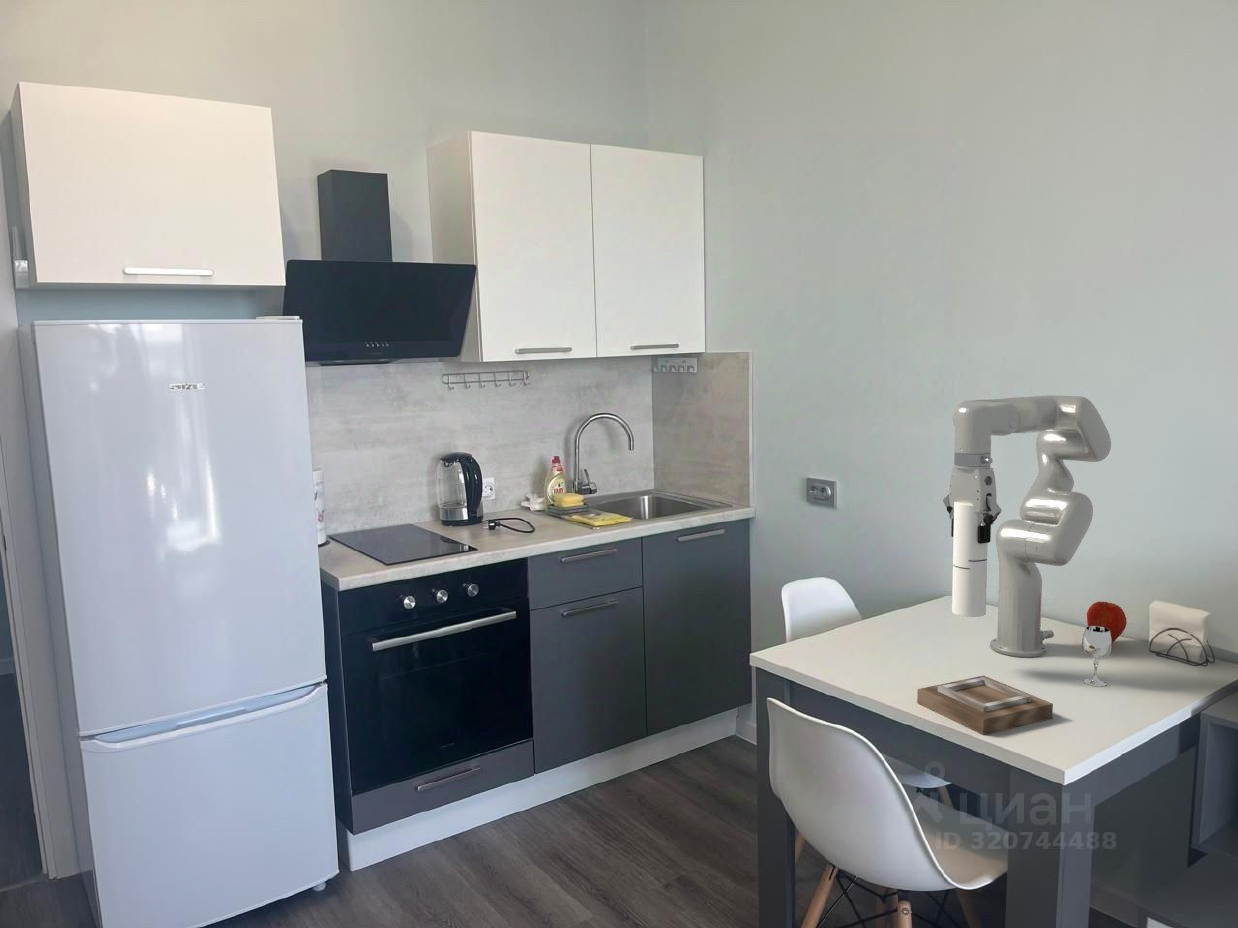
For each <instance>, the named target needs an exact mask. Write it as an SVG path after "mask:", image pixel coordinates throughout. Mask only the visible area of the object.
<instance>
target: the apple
mask: <svg viewBox="0 0 1238 928" xmlns="http://www.w3.org/2000/svg"><path fill="white" fill-rule="evenodd" d="M1086 623H1087V627H1088V626H1099V627H1104V628H1107V629H1109V630H1110V634H1111V639H1112V644H1114V643H1115V641H1116V640H1117V639H1119V637H1120V636H1121V635H1122V634H1123V632H1124V631H1125V629H1126V628H1127V627H1126V626H1127V624H1128V623H1127V617H1126V613H1125V610H1123V609H1122V607H1121V606H1120V605H1118V604H1115V603H1113V602H1108V601H1096V602H1094V603H1093V604H1091V605H1090V606H1089V608H1088V610H1087V612H1086Z"/></svg>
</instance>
